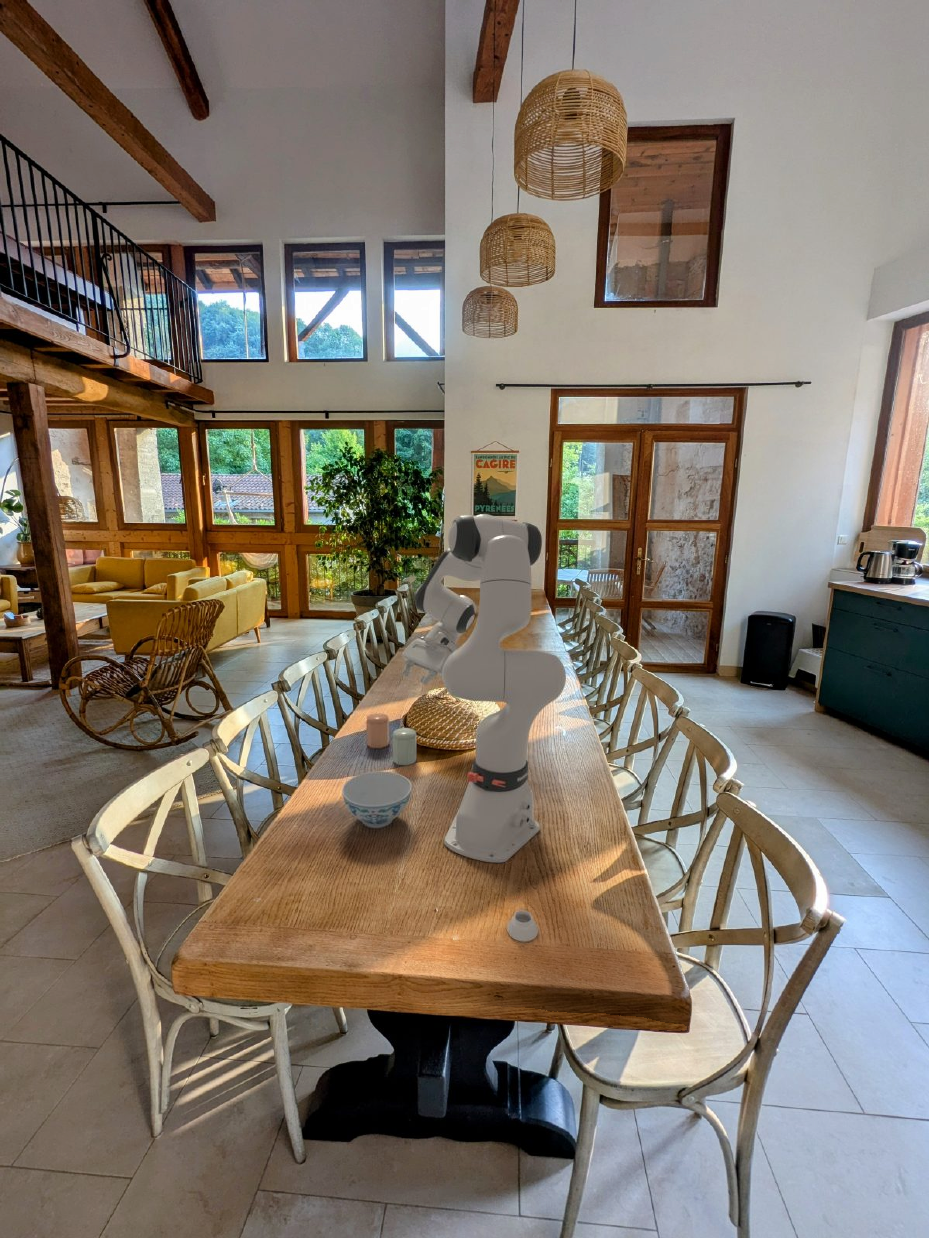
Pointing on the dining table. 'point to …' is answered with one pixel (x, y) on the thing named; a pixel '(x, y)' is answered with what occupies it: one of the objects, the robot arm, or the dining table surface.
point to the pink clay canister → (377, 730)
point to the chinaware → (377, 797)
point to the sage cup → (404, 746)
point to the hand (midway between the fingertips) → (413, 679)
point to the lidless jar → (522, 926)
